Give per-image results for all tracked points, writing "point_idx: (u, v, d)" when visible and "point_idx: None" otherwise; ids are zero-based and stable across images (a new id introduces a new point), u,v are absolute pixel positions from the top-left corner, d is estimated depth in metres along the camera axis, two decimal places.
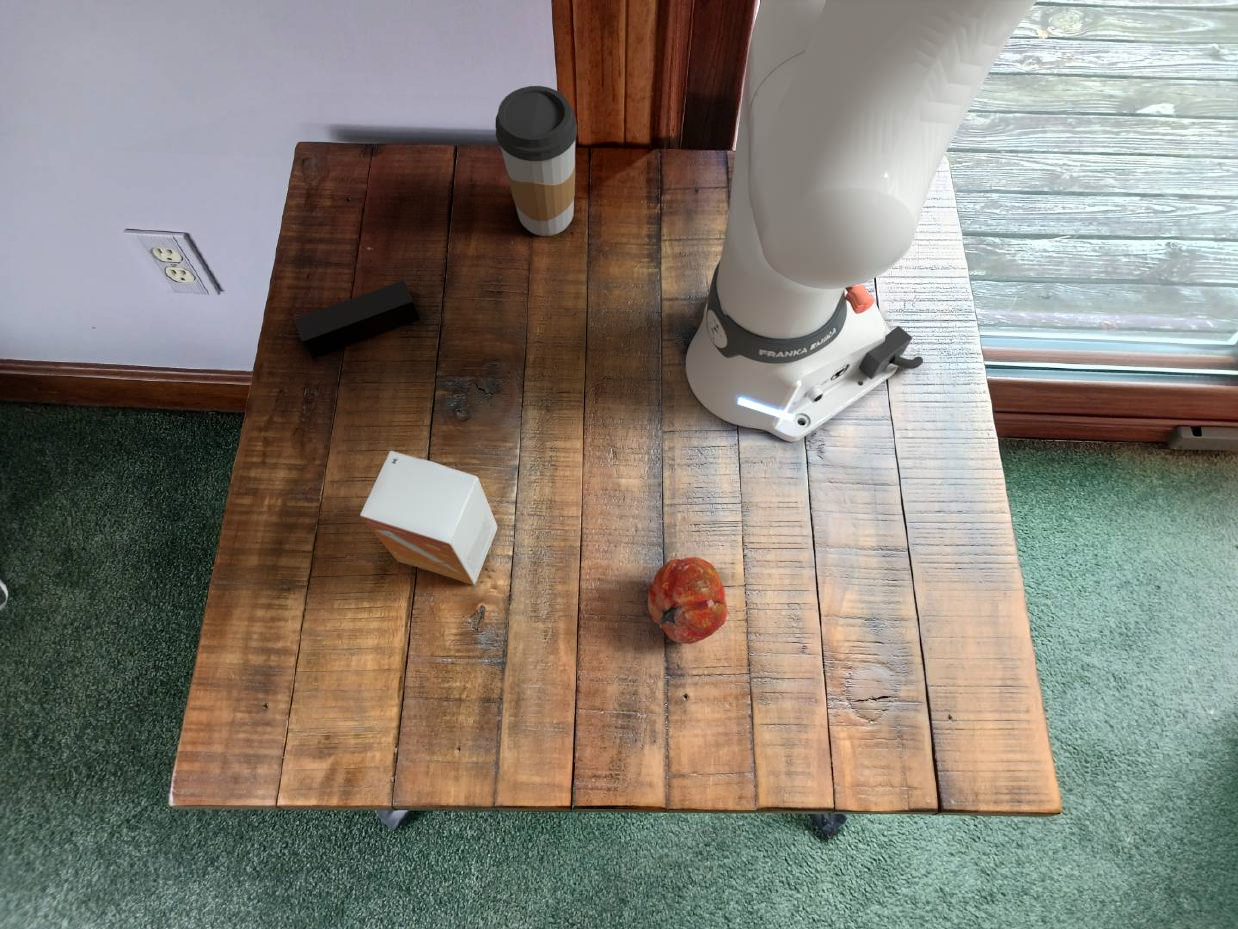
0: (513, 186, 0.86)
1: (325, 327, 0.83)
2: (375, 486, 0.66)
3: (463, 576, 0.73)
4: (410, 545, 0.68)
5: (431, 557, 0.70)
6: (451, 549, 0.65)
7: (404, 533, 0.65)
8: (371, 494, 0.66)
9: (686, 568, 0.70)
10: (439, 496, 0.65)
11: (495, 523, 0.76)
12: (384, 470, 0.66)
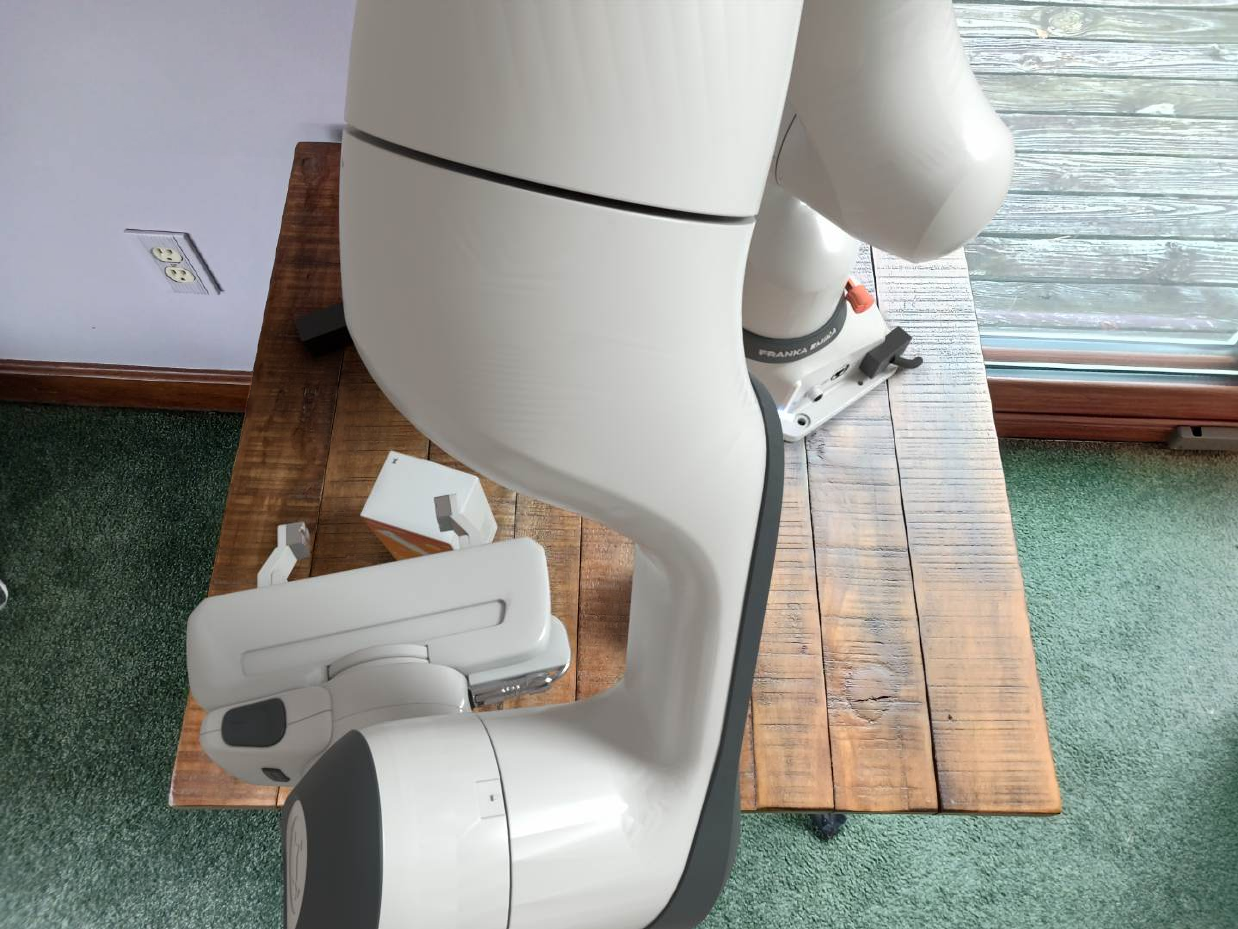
0: None
1: (325, 327, 0.83)
2: (375, 486, 0.66)
3: None
4: (410, 545, 0.68)
5: None
6: (451, 549, 0.65)
7: (404, 533, 0.65)
8: (371, 494, 0.66)
9: None
10: None
11: (495, 523, 0.76)
12: (384, 470, 0.66)
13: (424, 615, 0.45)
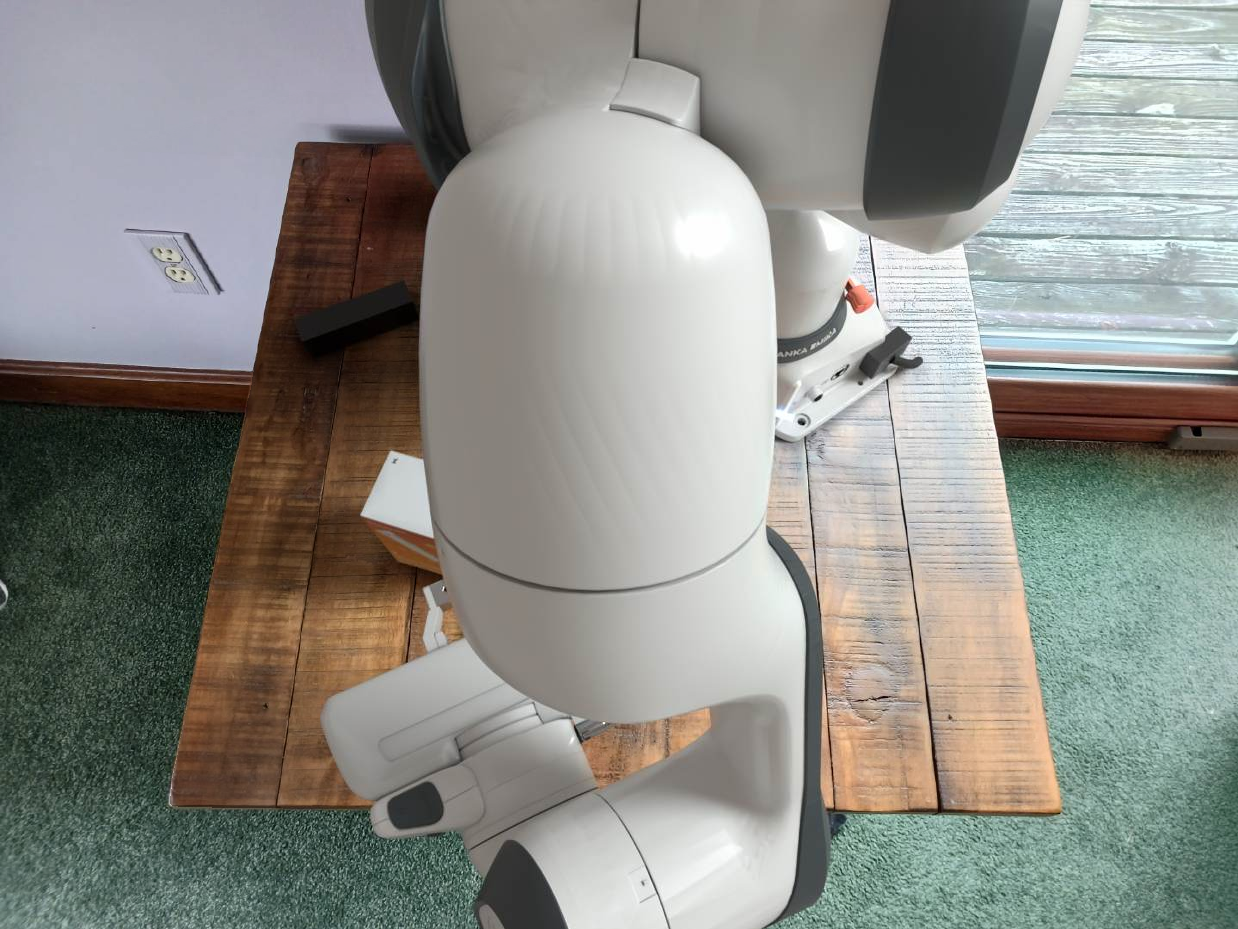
0: None
1: (325, 327, 0.83)
2: (375, 486, 0.66)
3: None
4: (410, 545, 0.68)
5: (431, 557, 0.70)
6: None
7: (404, 533, 0.65)
8: (371, 494, 0.66)
9: None
10: None
11: None
12: (384, 470, 0.66)
13: None
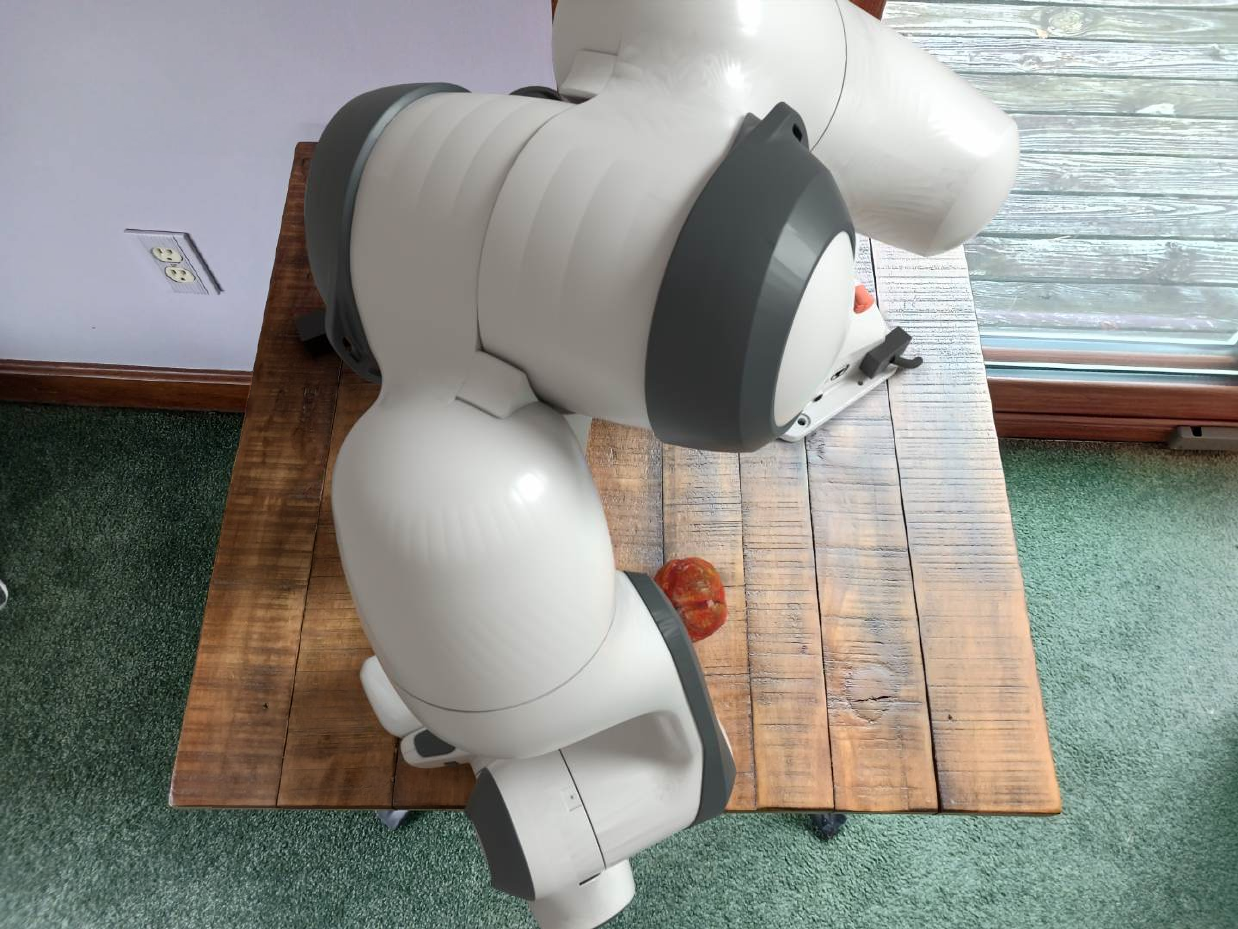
0: None
1: None
2: None
3: None
4: None
5: None
6: None
7: None
8: None
9: (686, 568, 0.70)
10: None
11: None
12: None
13: None
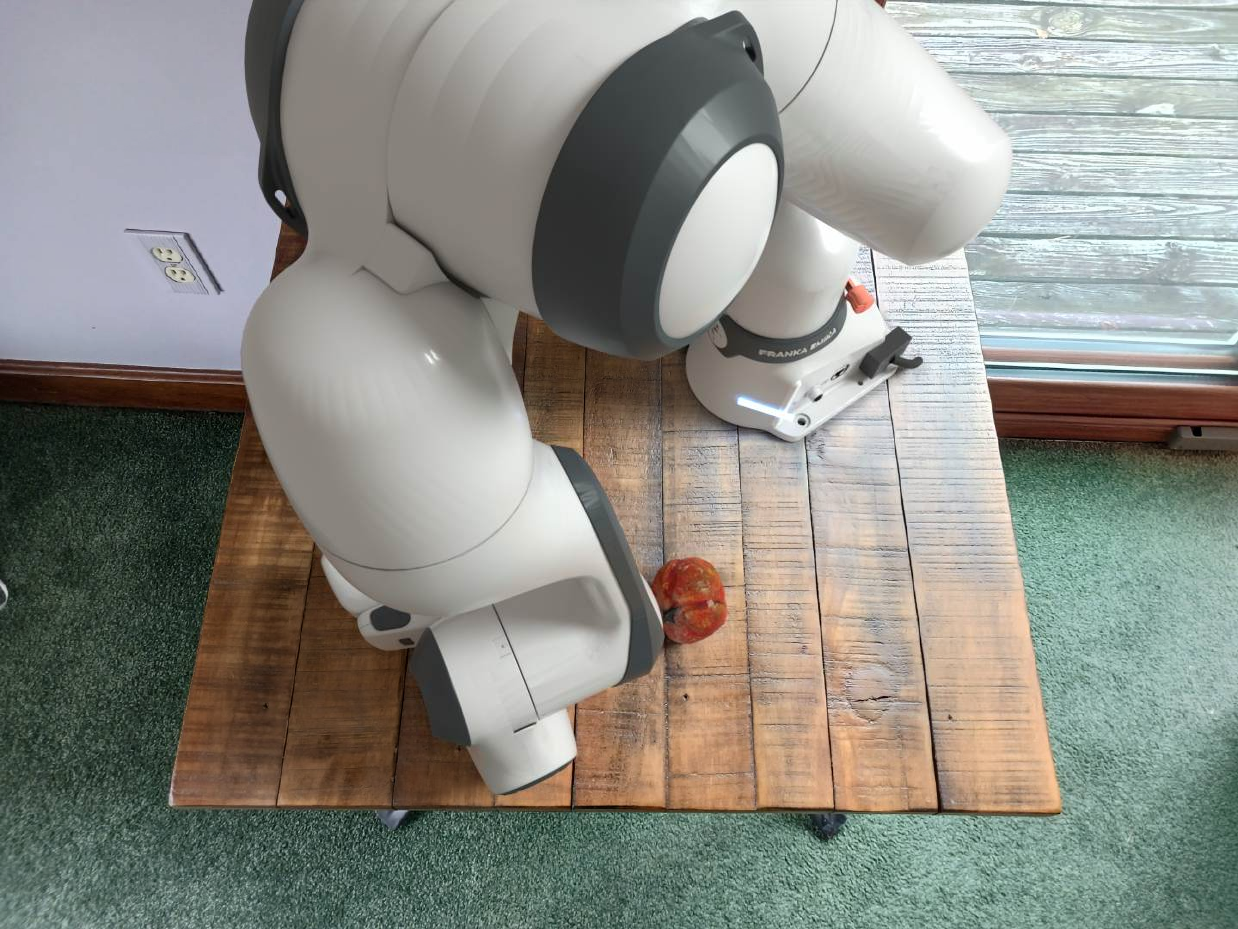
0: None
1: None
2: None
3: None
4: None
5: None
6: None
7: None
8: None
9: (686, 568, 0.70)
10: None
11: None
12: None
13: None
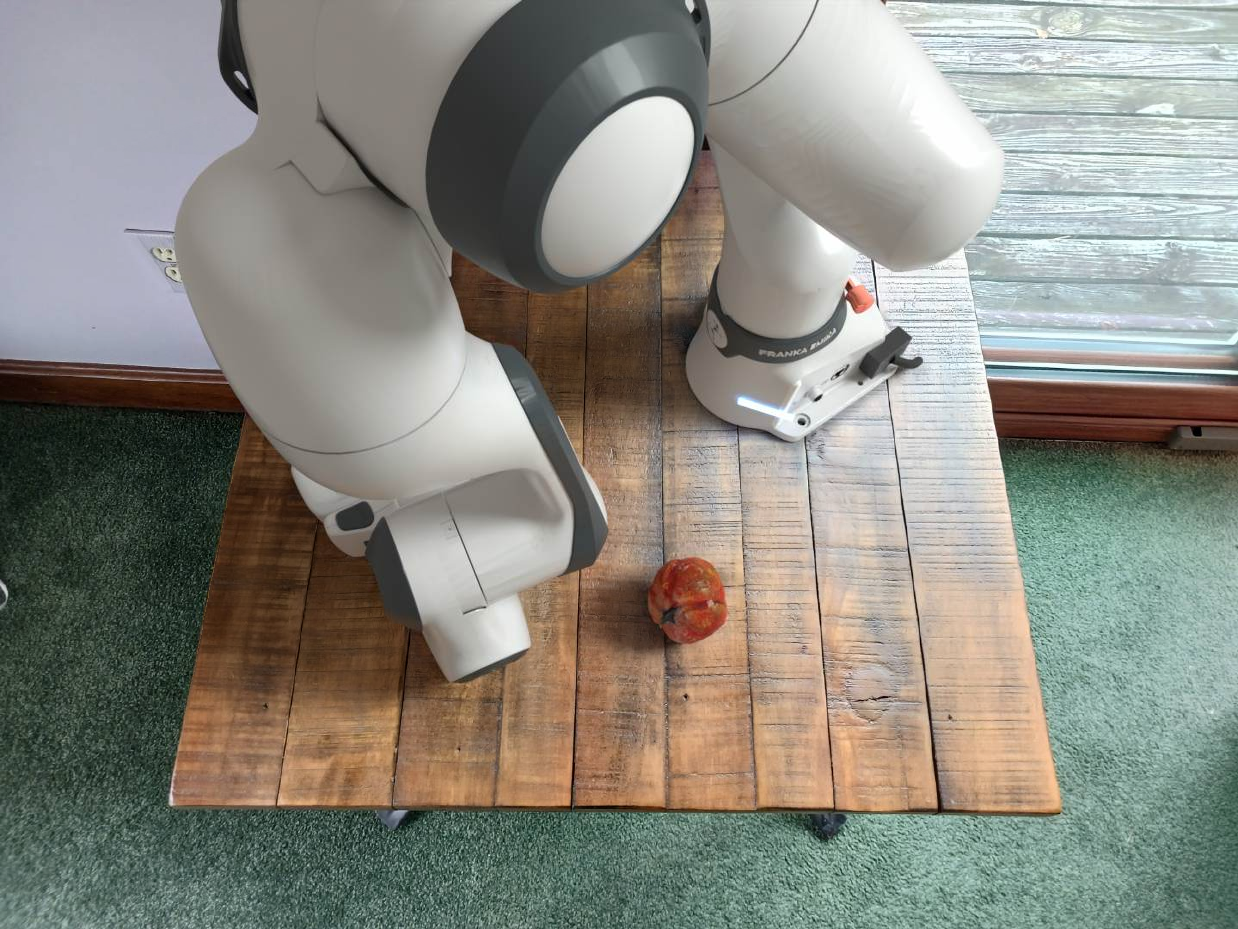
0: None
1: None
2: None
3: None
4: None
5: None
6: None
7: None
8: None
9: (686, 568, 0.70)
10: None
11: None
12: None
13: None
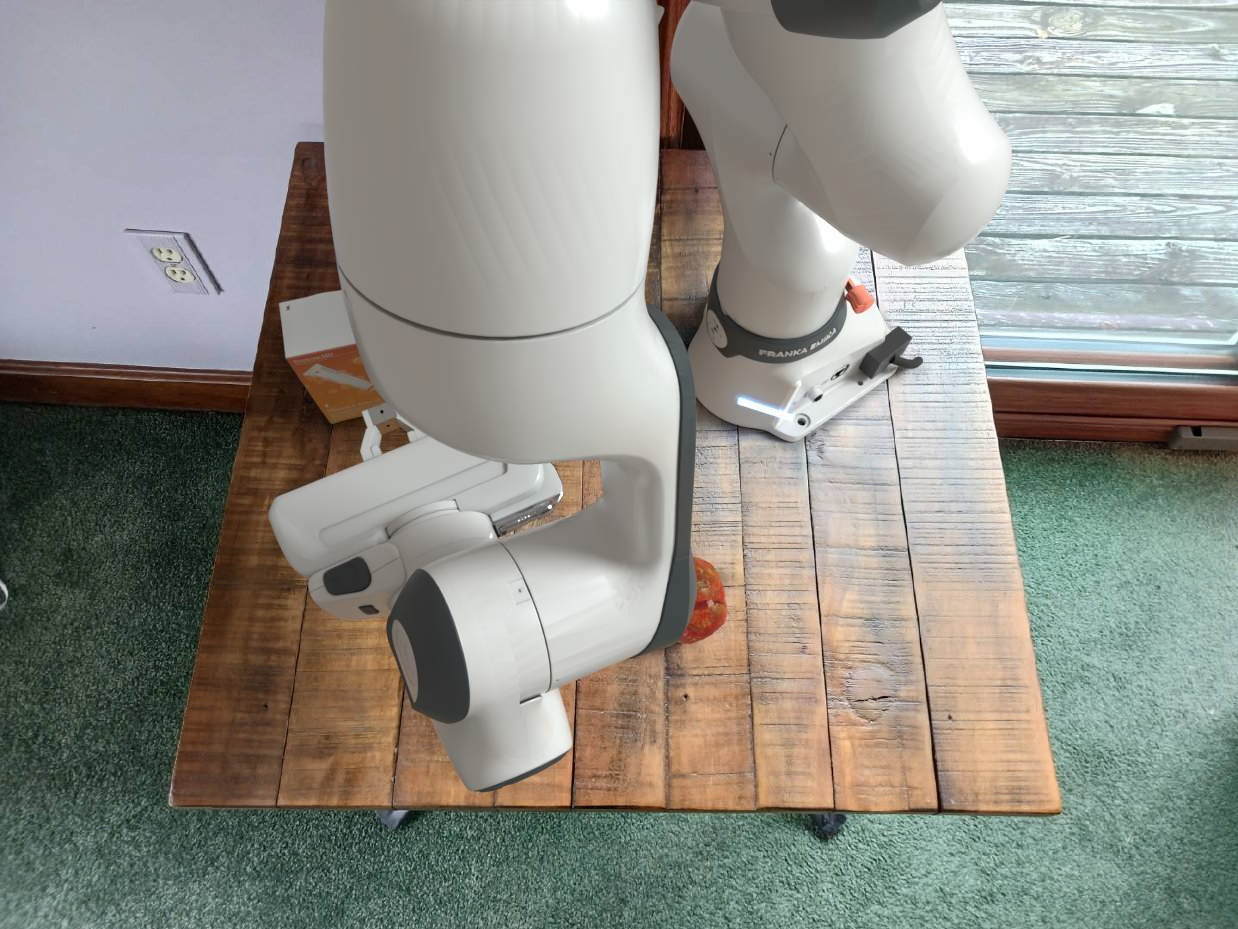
0: None
1: None
2: (284, 332, 0.72)
3: None
4: (339, 375, 0.75)
5: (361, 383, 0.77)
6: None
7: (331, 355, 0.72)
8: (285, 339, 0.71)
9: None
10: (343, 312, 0.73)
11: None
12: (284, 317, 0.72)
13: (446, 477, 0.59)
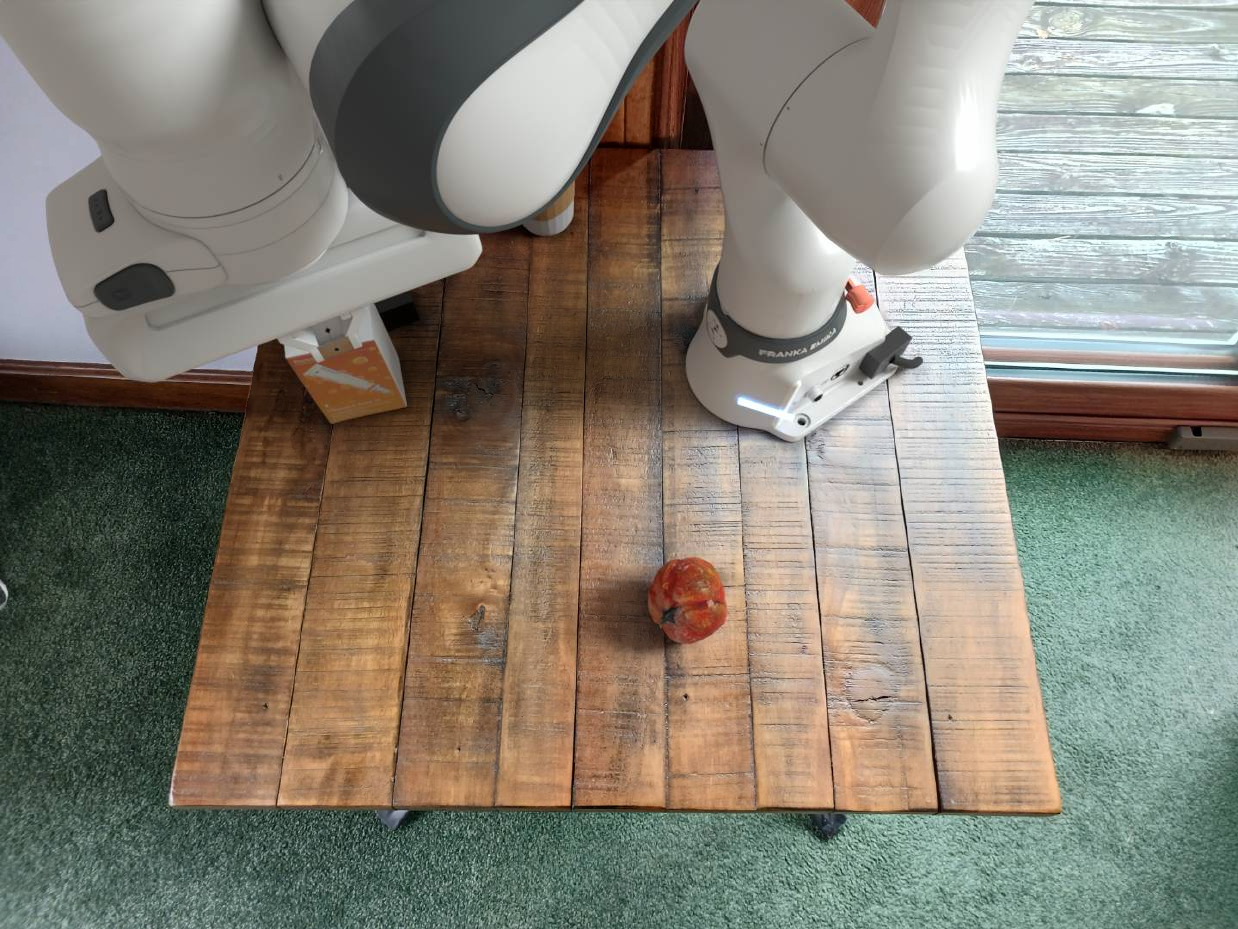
0: None
1: None
2: None
3: (394, 396, 0.81)
4: (339, 375, 0.75)
5: (361, 383, 0.77)
6: (377, 349, 0.73)
7: None
8: None
9: (686, 568, 0.70)
10: None
11: (395, 350, 0.84)
12: None
13: None
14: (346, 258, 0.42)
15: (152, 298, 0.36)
